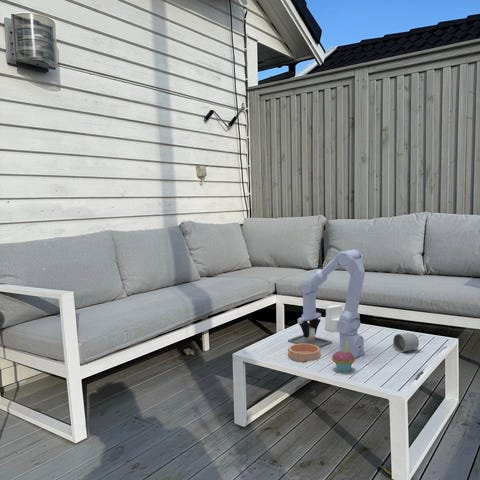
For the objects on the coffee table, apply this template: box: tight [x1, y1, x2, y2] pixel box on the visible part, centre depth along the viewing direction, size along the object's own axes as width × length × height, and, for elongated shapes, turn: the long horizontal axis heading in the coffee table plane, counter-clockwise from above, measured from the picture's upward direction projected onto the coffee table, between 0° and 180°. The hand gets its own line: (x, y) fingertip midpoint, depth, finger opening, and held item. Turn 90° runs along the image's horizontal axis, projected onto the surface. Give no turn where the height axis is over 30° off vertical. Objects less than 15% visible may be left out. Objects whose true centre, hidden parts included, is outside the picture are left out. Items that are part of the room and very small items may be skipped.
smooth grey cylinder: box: [305, 327, 316, 341], centre depth 204 cm, size 5×5×5 cm
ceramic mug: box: [392, 332, 420, 353], centre depth 194 cm, size 11×8×8 cm
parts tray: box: [287, 334, 333, 349], centre depth 205 cm, size 16×12×1 cm
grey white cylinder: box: [324, 304, 343, 333], centre depth 225 cm, size 9×9×12 cm
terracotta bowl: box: [287, 343, 321, 363], centre depth 188 cm, size 13×13×4 cm
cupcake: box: [331, 342, 356, 373], centre depth 172 cm, size 9×8×12 cm
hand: (309, 335), depth 204 cm, fingers closed on smooth grey cylinder, 5 cm apart
